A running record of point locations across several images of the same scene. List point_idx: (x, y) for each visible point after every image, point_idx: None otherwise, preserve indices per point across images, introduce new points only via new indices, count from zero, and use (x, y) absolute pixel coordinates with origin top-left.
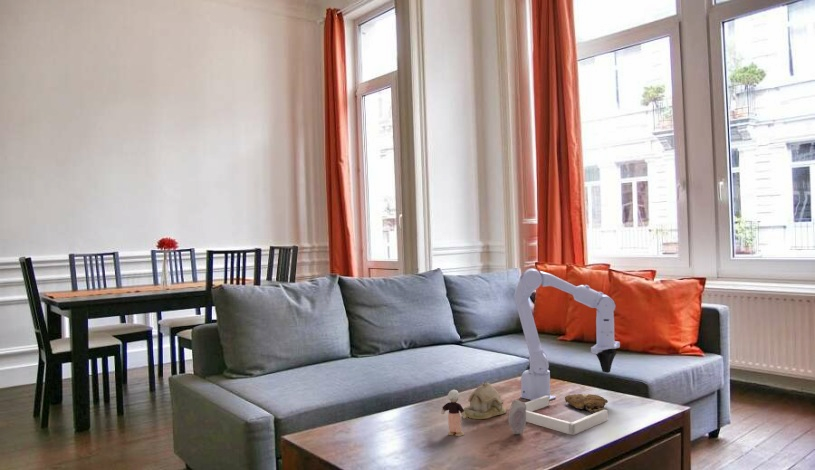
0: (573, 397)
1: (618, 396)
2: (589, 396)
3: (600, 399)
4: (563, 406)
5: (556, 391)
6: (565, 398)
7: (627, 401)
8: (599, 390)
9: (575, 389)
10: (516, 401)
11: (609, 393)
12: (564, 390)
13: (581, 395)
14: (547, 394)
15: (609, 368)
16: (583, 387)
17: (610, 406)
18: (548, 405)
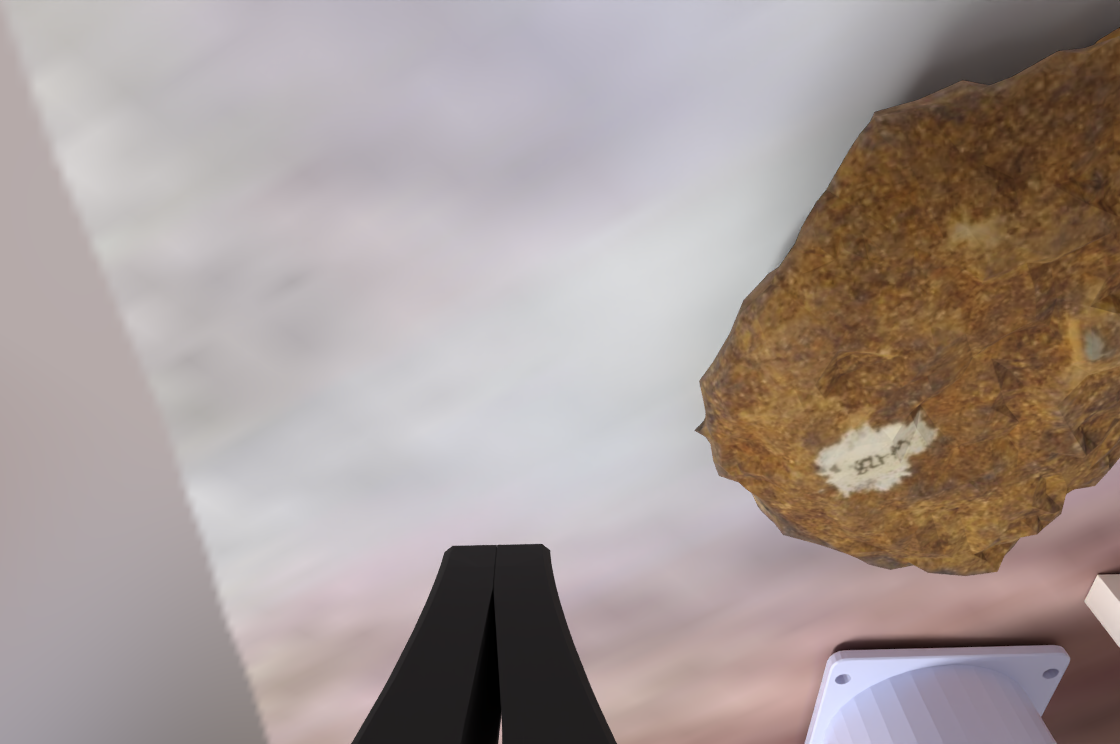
0: (1044, 491)
1: (239, 277)
2: (946, 374)
3: (1007, 187)
4: None
5: None
6: (1008, 551)
7: (341, 47)
8: (231, 543)
9: None
10: None
11: (229, 418)
12: None
13: (922, 471)
14: (983, 705)
15: (506, 609)
16: (288, 678)
17: (758, 98)
18: (1114, 574)
